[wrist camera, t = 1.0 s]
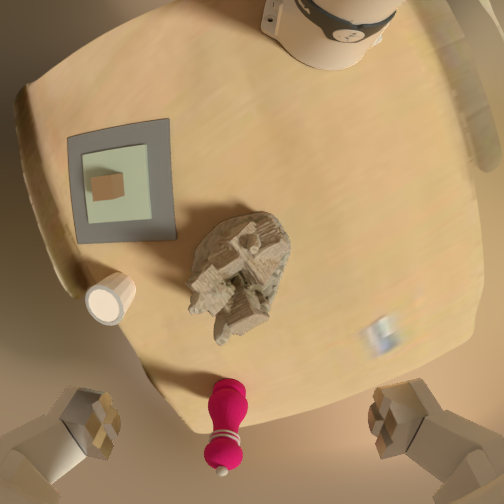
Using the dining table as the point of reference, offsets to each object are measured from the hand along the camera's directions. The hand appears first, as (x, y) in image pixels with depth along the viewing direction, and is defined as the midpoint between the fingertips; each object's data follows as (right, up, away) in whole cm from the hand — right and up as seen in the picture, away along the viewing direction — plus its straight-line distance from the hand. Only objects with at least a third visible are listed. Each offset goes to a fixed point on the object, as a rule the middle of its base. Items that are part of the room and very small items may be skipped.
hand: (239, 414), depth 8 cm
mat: (-20, +15, +33) cm, 42 cm away
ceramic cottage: (-1, +2, +38) cm, 38 cm away
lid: (-20, +15, +33) cm, 42 cm away
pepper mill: (-4, -22, +45) cm, 50 cm away
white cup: (-22, -1, +39) cm, 44 cm away
